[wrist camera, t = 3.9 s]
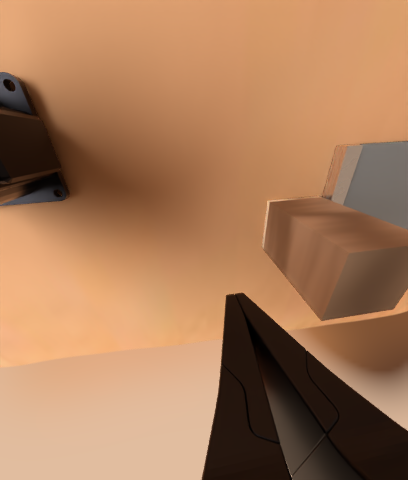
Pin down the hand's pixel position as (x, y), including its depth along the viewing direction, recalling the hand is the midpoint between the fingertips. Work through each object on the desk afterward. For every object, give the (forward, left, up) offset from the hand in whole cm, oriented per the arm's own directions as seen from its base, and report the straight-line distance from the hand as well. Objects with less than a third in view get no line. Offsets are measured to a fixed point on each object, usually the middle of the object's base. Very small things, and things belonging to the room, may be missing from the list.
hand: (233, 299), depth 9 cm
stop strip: (+10, 0, -8) cm, 13 cm away
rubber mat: (+16, 0, -8) cm, 18 cm away
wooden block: (+7, 0, -8) cm, 10 cm away
